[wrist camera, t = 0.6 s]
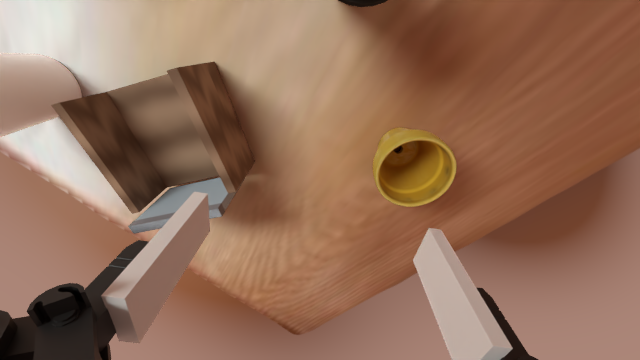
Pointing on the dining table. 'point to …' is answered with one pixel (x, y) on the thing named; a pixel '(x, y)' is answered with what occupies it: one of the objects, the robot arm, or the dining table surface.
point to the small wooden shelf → (161, 133)
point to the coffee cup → (362, 2)
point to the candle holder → (32, 90)
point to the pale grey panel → (175, 199)
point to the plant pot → (413, 167)
